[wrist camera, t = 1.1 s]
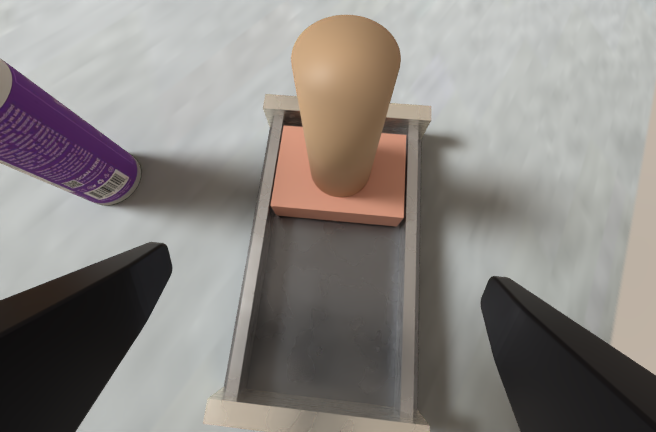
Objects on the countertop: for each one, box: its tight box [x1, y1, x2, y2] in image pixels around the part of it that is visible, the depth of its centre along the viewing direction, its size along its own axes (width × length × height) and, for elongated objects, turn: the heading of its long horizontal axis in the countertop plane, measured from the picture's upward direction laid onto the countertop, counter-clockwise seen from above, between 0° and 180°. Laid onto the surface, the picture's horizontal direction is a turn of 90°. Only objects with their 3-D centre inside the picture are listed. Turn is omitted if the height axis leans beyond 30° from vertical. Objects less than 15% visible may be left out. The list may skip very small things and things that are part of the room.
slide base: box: [203, 94, 431, 432], centre depth 20 cm, size 21×12×4 cm, turn 174°
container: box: [0, 59, 141, 205], centre depth 17 cm, size 5×5×15 cm
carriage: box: [271, 15, 406, 227], centre depth 17 cm, size 6×9×12 cm
